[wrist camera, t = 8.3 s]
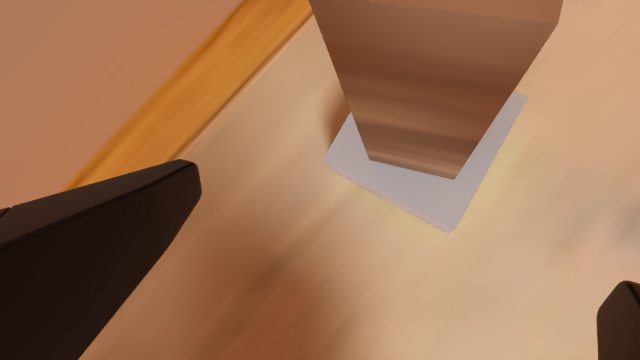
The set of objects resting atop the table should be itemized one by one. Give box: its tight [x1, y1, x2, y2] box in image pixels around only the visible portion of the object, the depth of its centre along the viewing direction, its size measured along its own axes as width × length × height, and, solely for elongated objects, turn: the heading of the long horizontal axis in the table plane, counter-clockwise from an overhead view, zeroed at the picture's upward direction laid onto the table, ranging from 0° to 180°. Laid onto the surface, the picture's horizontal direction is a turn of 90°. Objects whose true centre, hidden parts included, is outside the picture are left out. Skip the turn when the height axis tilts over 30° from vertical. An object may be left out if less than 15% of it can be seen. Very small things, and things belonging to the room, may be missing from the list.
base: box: [323, 91, 528, 234], centre depth 19 cm, size 7×7×2 cm
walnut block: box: [309, 0, 563, 180], centre depth 12 cm, size 4×4×12 cm
